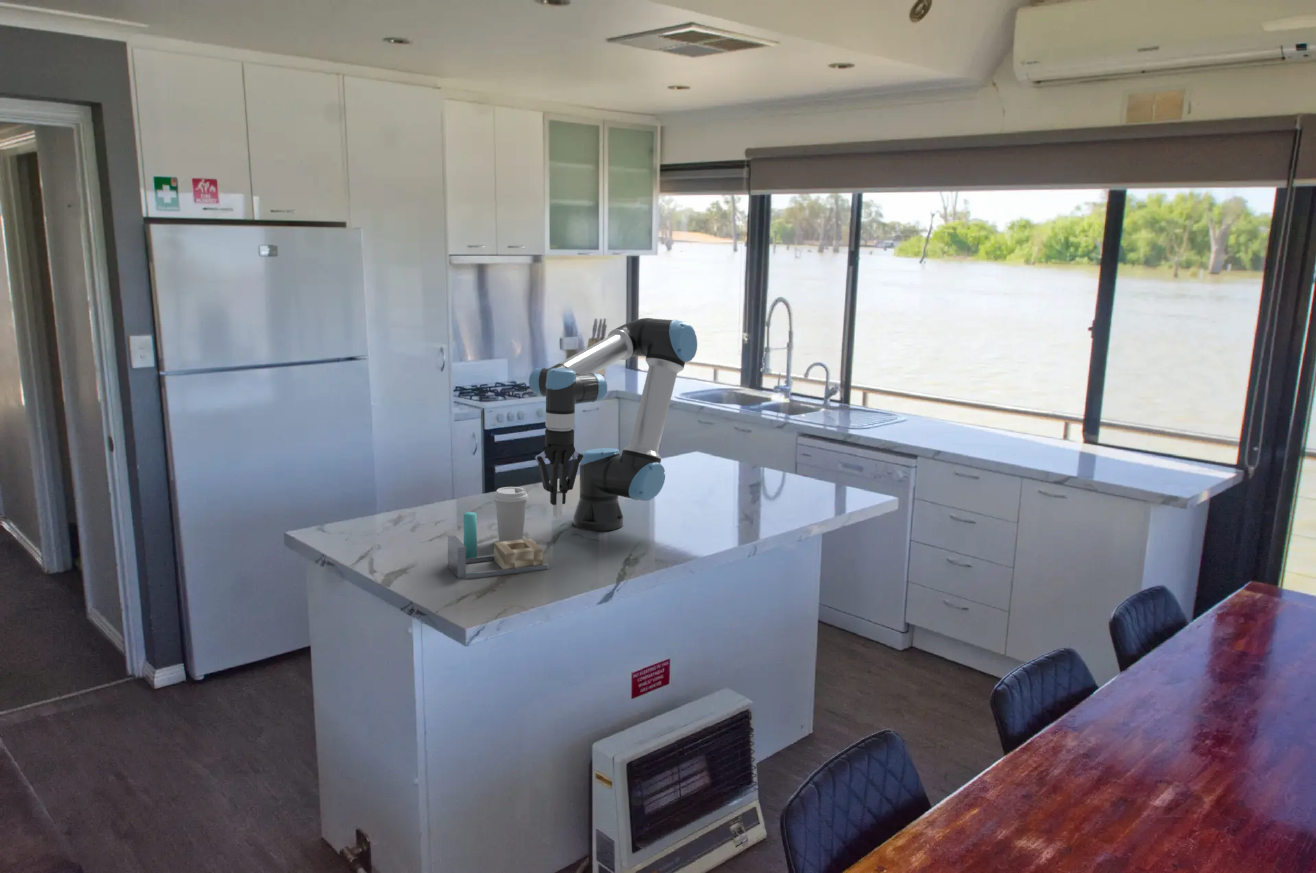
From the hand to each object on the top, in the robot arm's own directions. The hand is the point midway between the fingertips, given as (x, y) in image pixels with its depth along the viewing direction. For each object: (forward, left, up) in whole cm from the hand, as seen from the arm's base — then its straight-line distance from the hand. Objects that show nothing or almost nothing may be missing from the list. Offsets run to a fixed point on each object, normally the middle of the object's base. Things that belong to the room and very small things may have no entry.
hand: (557, 516), depth 245 cm
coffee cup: (+7, -19, -12) cm, 24 cm away
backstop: (+16, 0, -12) cm, 20 cm away
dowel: (+21, -10, -12) cm, 26 cm away
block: (+11, 0, -12) cm, 16 cm away
